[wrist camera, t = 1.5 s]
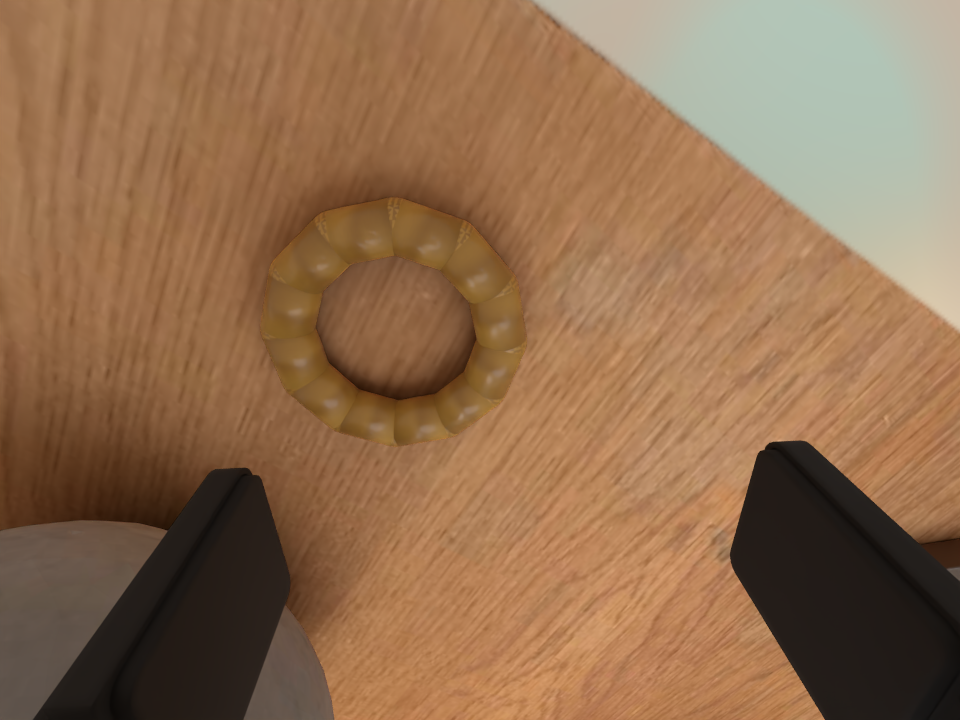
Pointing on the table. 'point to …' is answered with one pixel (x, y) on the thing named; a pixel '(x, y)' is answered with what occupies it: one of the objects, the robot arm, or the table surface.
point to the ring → (417, 239)
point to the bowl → (88, 600)
